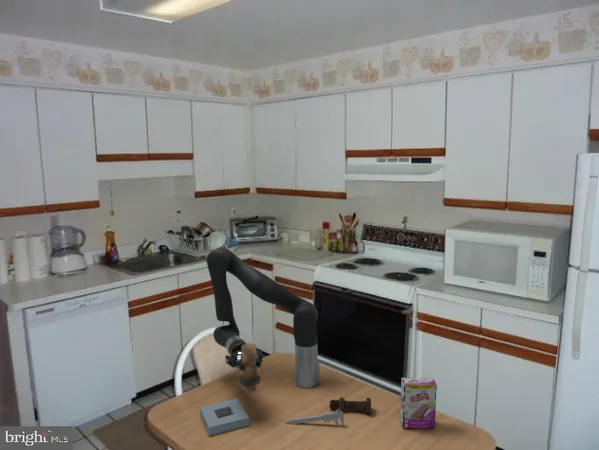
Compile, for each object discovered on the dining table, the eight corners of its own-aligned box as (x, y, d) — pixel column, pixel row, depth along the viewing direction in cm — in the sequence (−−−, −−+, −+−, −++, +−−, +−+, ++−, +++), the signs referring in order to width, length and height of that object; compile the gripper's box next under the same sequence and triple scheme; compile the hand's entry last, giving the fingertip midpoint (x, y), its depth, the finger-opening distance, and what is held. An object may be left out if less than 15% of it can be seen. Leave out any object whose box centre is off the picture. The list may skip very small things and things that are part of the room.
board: (237, 405, 169) (237, 398, 169) (249, 425, 157) (249, 417, 156) (200, 414, 163) (199, 407, 163) (209, 435, 151) (208, 427, 150)
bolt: (330, 412, 168) (371, 415, 165) (328, 412, 163) (370, 415, 160) (330, 395, 170) (371, 397, 167) (329, 395, 165) (370, 397, 162)
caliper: (343, 425, 156) (343, 408, 156) (343, 427, 155) (343, 410, 155) (285, 422, 158) (285, 406, 158) (285, 424, 157) (284, 407, 156)
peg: (256, 381, 166) (255, 340, 164) (263, 391, 159) (262, 348, 157) (236, 386, 163) (235, 344, 161) (242, 396, 156) (241, 352, 154)
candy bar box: (402, 429, 153) (403, 384, 151) (399, 421, 158) (400, 377, 156) (435, 429, 153) (437, 384, 151) (431, 421, 158) (433, 377, 156)
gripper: (219, 342, 169) (231, 360, 154) (255, 336, 175) (270, 352, 160) (219, 361, 171) (232, 381, 155) (255, 354, 176) (271, 372, 161)
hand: (251, 366), depth 158 cm, fingers closed on peg, 5 cm apart
